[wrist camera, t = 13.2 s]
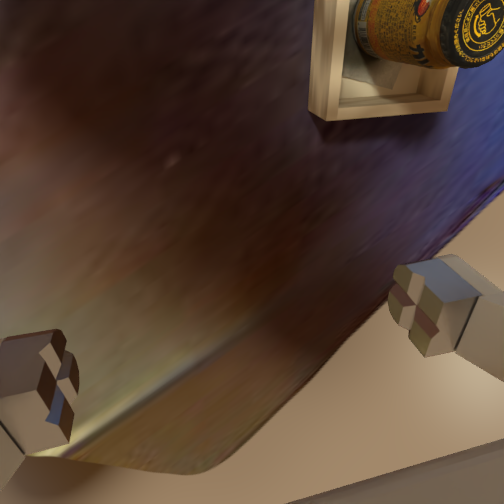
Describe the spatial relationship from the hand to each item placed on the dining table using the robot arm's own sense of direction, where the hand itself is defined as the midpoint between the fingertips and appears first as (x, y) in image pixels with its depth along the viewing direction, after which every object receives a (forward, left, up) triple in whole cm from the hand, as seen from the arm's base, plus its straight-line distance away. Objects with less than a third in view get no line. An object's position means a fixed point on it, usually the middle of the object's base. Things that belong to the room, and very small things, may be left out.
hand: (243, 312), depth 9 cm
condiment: (-4, +18, -28) cm, 33 cm away
